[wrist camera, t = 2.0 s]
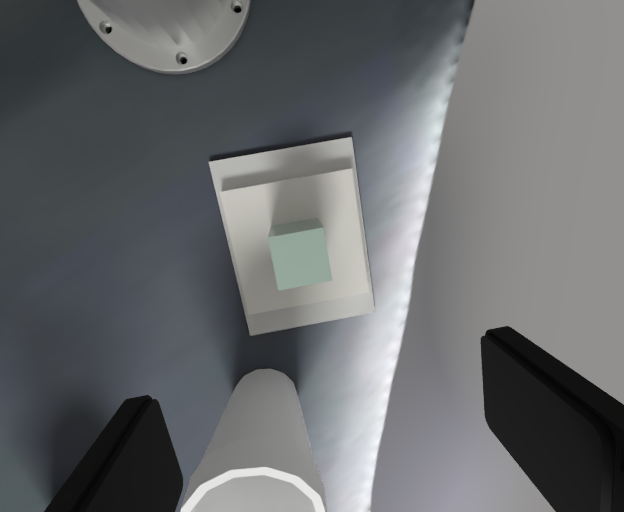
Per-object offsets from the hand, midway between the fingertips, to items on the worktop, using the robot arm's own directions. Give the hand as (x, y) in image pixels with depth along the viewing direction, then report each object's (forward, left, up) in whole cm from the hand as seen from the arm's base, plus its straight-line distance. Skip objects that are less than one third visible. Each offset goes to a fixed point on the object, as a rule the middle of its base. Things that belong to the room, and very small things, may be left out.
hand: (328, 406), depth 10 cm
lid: (0, 0, -21) cm, 21 cm away
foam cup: (+15, -6, -22) cm, 27 cm away
